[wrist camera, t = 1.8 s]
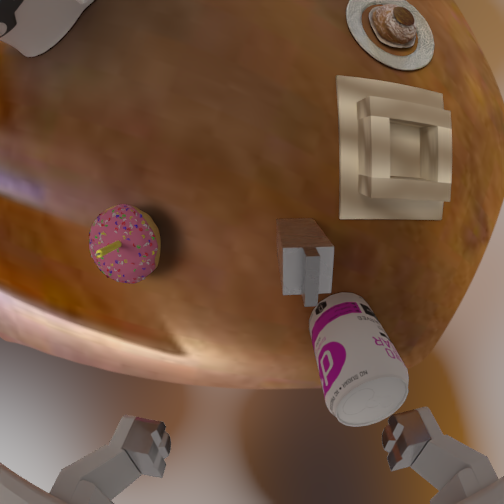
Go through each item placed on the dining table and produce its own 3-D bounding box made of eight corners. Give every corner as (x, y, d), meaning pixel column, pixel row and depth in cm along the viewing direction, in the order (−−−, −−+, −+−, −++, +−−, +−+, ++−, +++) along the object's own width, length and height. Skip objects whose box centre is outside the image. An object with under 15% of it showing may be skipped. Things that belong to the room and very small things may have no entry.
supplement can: (299, 337, 36) (314, 429, 22) (320, 283, 33) (354, 367, 19) (353, 346, 37) (385, 429, 22) (377, 295, 34) (429, 372, 20)
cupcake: (129, 183, 30) (68, 202, 19) (186, 226, 32) (148, 266, 20) (99, 240, 33) (42, 278, 21) (151, 279, 34) (108, 334, 23)
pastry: (424, 9, 21) (440, -3, 16) (433, 83, 25) (453, 77, 20) (340, -16, 21) (350, -33, 17) (346, 60, 25) (358, 47, 21)
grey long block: (276, 218, 31) (284, 257, 20) (312, 218, 31) (340, 255, 20) (276, 253, 32) (284, 307, 21) (311, 252, 32) (336, 304, 21)
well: (335, 76, 25) (347, 65, 21) (439, 94, 25) (460, 89, 20) (338, 217, 31) (350, 228, 26) (439, 218, 30) (459, 228, 26)
